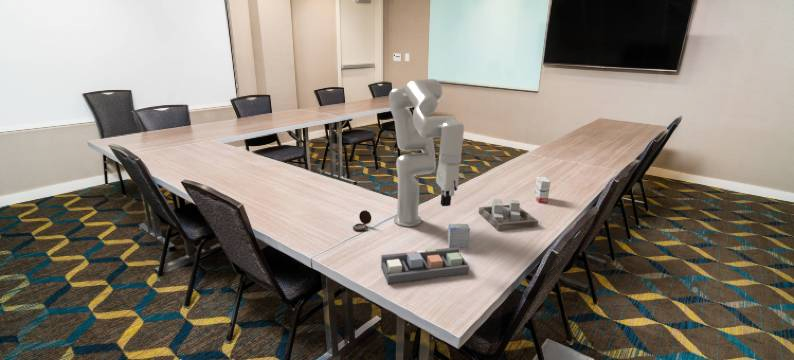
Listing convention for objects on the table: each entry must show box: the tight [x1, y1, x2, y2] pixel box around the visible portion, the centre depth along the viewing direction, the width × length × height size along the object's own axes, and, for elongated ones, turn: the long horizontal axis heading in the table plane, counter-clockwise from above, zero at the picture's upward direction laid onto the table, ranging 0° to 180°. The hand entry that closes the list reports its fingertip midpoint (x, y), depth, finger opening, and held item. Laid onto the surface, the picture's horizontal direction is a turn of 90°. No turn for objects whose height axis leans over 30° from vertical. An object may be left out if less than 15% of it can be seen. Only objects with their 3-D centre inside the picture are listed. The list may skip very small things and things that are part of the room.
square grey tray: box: [478, 204, 539, 232], centre depth 187 cm, size 20×20×3 cm
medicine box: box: [447, 223, 471, 248], centre depth 162 cm, size 8×4×9 cm, turn 92°
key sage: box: [446, 252, 464, 267], centre depth 146 cm, size 4×4×3 cm
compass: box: [352, 209, 372, 233], centre depth 174 cm, size 8×8×7 cm
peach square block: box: [427, 255, 443, 269], centre depth 144 cm, size 4×4×3 cm
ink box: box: [533, 176, 551, 204], centre depth 210 cm, size 9×5×12 cm, turn 179°
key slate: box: [407, 253, 423, 268], centre depth 142 cm, size 4×4×3 cm
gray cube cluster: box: [490, 198, 521, 223], centre depth 186 cm, size 12×12×8 cm
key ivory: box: [387, 259, 402, 274], centre depth 141 cm, size 4×4×3 cm
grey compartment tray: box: [380, 247, 470, 285], centre depth 143 cm, size 11×30×5 cm, turn 104°
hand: (445, 205), depth 145 cm, fingers closed
